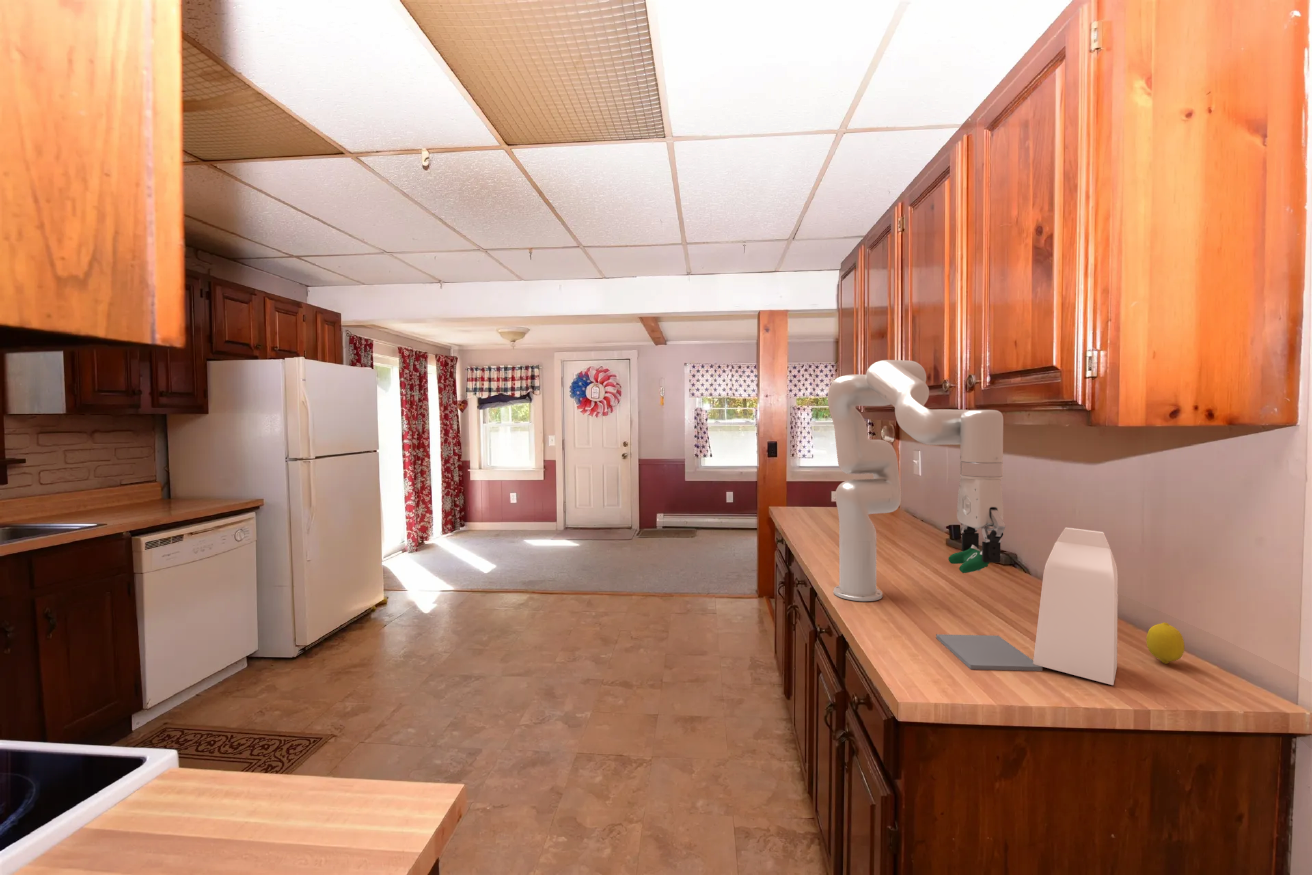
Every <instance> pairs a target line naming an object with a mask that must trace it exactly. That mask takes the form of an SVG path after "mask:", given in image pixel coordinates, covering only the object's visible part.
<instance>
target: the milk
mask: <svg viewBox="0 0 1312 875" xmlns="http://www.w3.org/2000/svg"><path fill="white" fill-rule="evenodd" d="M1118 575H1119V574H1118V567H1117V562H1116V559H1115V556H1114V554H1113V551H1112V549H1111V545H1110V544H1109V541H1108V539H1107V537H1106V535H1105V532H1104V531H1099V530H1098V531H1097V530H1090V529H1083V528H1081V529H1080V528H1076V527H1075V528H1073V527H1064V529H1063V530H1062V531H1061V533H1060V535H1059V536H1058V538H1057V539H1056V541H1055V542H1054V544H1053V547H1052V549H1051V551H1050V554H1049V556H1048V557H1047V559H1046V562H1045V565H1044V570H1043V576H1042V584H1041V593H1040V601H1039V610H1038V611H1039V612H1038V617H1037V625H1036V626H1037V627H1036V633H1035V634H1036V635H1035V644H1034V652H1033V659H1032V660H1033V664H1035V665H1038V666H1042V668H1047V669H1050V670H1053V671H1058V672H1062V673H1066V674H1068V675H1074V676H1076V677H1081V678H1084V679H1087V680H1092V681H1096V682H1099V683H1102V684H1108V685H1111V686H1114V683H1115V679H1116V672H1117V670H1118V669H1117V668H1118V598H1119V597H1118V593H1119V592H1118V589H1119V588H1118V584H1119V583H1118V582H1119V580H1118V578H1119V576H1118Z"/></svg>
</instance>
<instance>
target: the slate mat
mask: <svg viewBox="0 0 1312 875" xmlns="http://www.w3.org/2000/svg"><path fill="white" fill-rule="evenodd" d="M935 638H936V639H937V640H938V641H939V642H940V643H941V644H942V645H943V646H944V647H945V648H946V649H947V650H949V651H950V653H952V654H953V655H954V656H955V657H957V659H958V660H960V661H961V662H962V663H963V664H964V665H965V666H966V667H967V668H968V669H969V670H985V671H986V670H987V671H990V670H991V671H1019V672H1020V671H1021V672H1022V671H1023V672H1024V671H1025V672H1027V671H1028V672H1043V667H1042V666H1038V665H1035V664H1033V659H1032V658H1031V657H1029V656H1028V655H1026V654H1025V653H1024V652H1022V651H1021V650H1020V649H1018V648H1016V647H1015V646H1014V645H1012V644H1011V643H1009V642H1008V641H1007V640H1006V639H1004V638H1003V637H1001V636H1000V635H991V634H990V635H985V634H983V635H981V634H980V635H979V634H942V633H941V634H938V633H937V634H936V635H935Z"/></svg>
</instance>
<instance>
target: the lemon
mask: <svg viewBox="0 0 1312 875" xmlns="http://www.w3.org/2000/svg"><path fill="white" fill-rule="evenodd" d="M1145 639H1146V646H1147V647H1146V648H1147V649H1148V651H1149V653H1150V654H1151V655H1152V656H1153V657H1154V658H1156V659H1157V660H1159V661H1160V662H1161V663H1162V664H1164V665H1166V664H1169V663H1172V662H1175V661H1176V662H1177V661H1178V660H1180V659H1181V657H1182V656H1183V655H1184V653H1185V641H1184V640H1185V639H1184V637H1183V635H1182V634H1181V632H1180V631H1179V630H1178V629H1177V628H1176V627H1174V626H1172V625H1170V624H1169V623H1168V622H1165V621H1164V622H1161V623H1157V624H1154V625H1152V626H1151V627H1150V628H1149V629H1148V631H1147V634H1146V638H1145Z"/></svg>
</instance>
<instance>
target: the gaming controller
mask: <svg viewBox="0 0 1312 875" xmlns="http://www.w3.org/2000/svg"><path fill="white" fill-rule="evenodd" d="M948 562H949V563H950V564H951V565H952V564H953V565H958V564H960V566H959V568H958V570H959V571H960V572H961V573H962V574H967V573H974V572H980V571H981V570H982V569H985V568H987V567H988V566H989V564H990V563H986V562H983V561H982V550H980V548H979V549H977V547H975V546H974V545H972V547H970V548H969V549H968V550H966V551H962V550H961V551H958V552H954V553H952V554H951V555H949V556H948Z"/></svg>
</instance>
